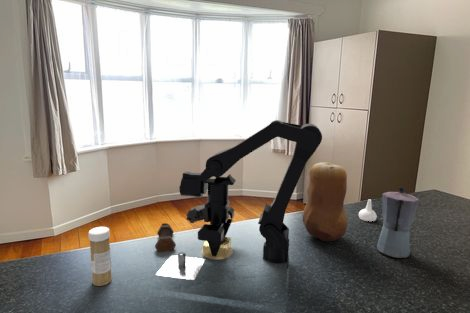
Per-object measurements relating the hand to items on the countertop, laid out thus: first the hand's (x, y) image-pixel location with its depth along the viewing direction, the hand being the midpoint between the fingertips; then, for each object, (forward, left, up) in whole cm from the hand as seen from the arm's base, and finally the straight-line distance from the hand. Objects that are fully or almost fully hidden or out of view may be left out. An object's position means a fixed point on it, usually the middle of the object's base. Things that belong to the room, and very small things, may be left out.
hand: (217, 250), depth 89 cm
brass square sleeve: (0, 0, 0) cm, 0 cm away
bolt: (+17, -3, -2) cm, 18 cm away
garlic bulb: (-49, -39, -2) cm, 63 cm away
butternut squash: (-31, -18, -2) cm, 36 cm away
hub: (+7, +10, -1) cm, 12 cm away
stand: (0, 0, -1) cm, 1 cm away
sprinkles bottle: (+24, +19, -2) cm, 31 cm away
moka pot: (-51, -13, -2) cm, 53 cm away
